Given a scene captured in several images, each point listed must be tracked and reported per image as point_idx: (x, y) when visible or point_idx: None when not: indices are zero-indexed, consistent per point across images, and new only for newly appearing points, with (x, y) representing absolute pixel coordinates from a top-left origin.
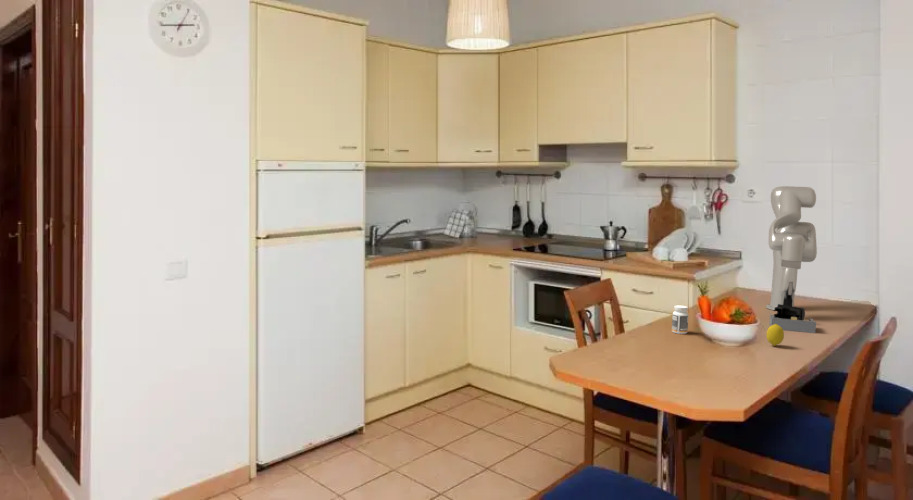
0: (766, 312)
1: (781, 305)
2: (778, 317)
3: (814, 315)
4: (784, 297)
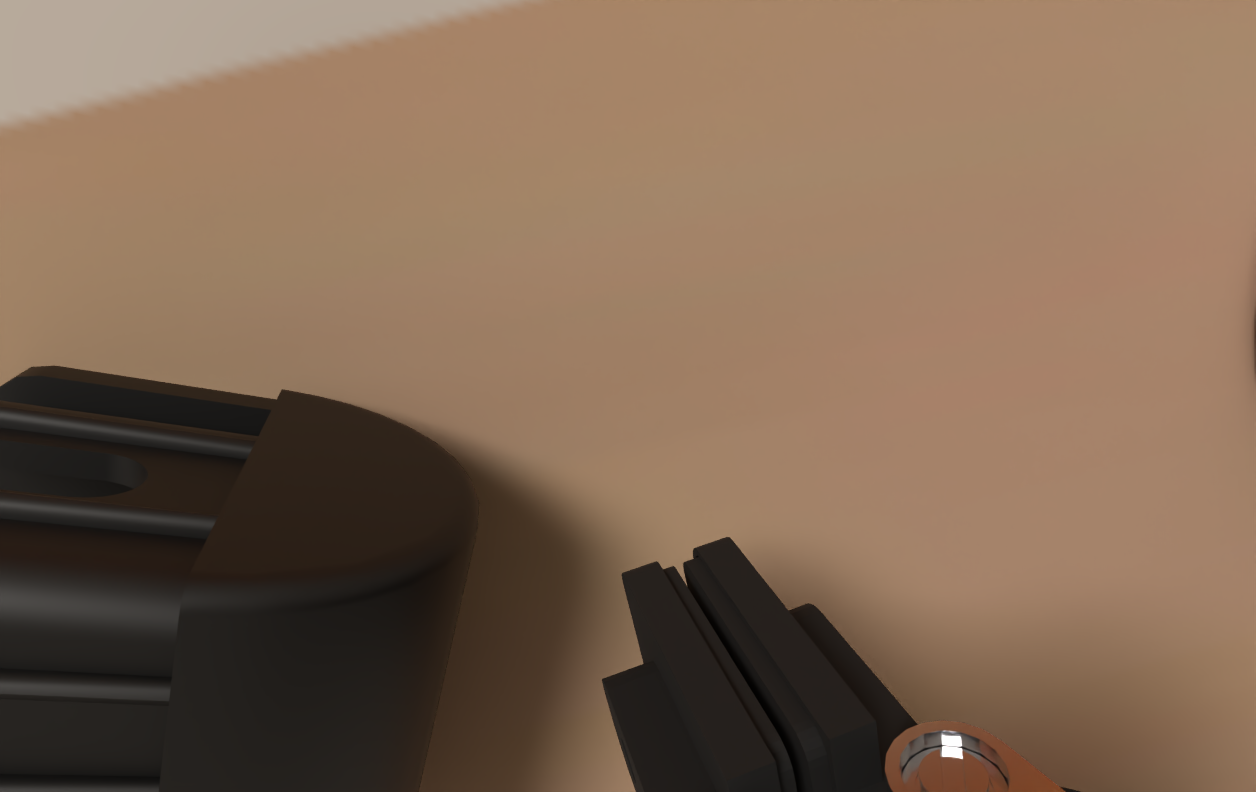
0: (1058, 17)
1: (174, 701)
2: (82, 487)
3: (1165, 731)
4: (888, 767)
